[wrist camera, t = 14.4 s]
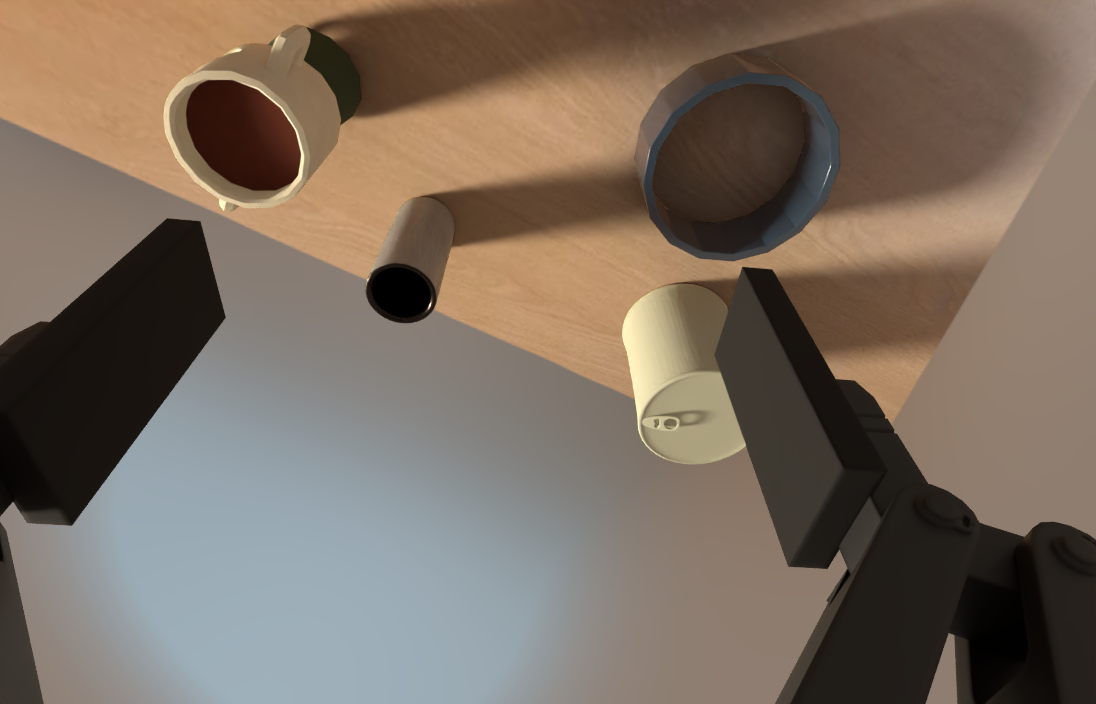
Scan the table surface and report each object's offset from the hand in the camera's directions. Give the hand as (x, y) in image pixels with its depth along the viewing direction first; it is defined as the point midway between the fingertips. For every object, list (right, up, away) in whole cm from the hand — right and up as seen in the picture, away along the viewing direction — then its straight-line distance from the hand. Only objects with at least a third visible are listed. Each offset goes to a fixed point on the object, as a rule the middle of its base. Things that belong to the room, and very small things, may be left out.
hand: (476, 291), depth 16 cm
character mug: (-14, +17, +26) cm, 34 cm away
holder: (+14, +13, +29) cm, 35 cm away
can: (+13, +1, +38) cm, 40 cm away
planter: (-8, +8, +32) cm, 34 cm away
